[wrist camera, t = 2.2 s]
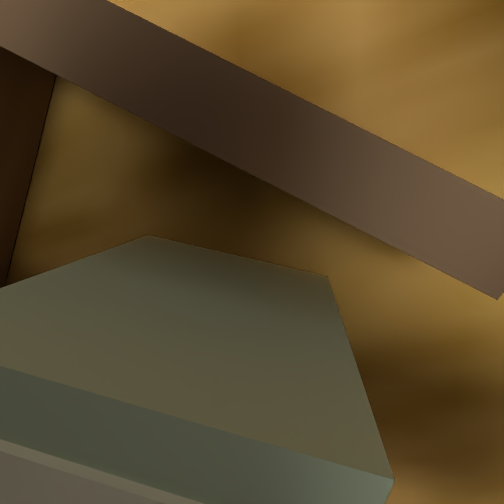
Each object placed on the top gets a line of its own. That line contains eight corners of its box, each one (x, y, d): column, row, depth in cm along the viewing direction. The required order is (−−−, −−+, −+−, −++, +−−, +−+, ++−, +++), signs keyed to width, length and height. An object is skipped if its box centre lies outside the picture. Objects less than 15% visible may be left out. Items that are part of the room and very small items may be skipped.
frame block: (327, 275, 8) (399, 493, 2) (271, 473, 10) (239, 855, 4) (149, 234, 8) (-135, 335, 3) (129, 430, 10) (-67, 723, 5)
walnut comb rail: (446, 207, 7) (564, 228, 4) (111, 692, 14) (60, 832, 11) (26, -5, 7) (-174, -143, 4) (-92, 577, 14) (-196, 683, 11)
